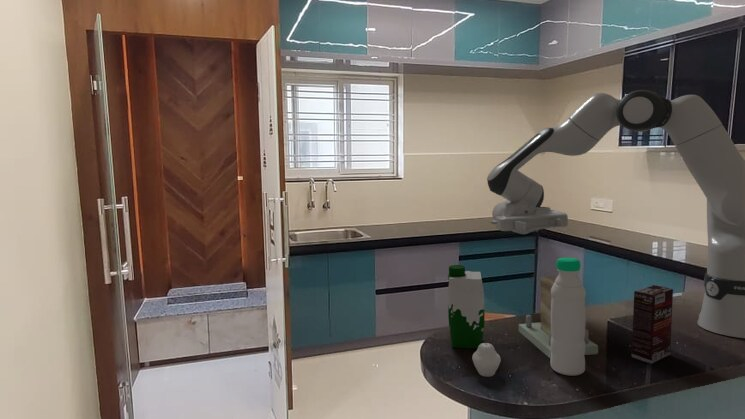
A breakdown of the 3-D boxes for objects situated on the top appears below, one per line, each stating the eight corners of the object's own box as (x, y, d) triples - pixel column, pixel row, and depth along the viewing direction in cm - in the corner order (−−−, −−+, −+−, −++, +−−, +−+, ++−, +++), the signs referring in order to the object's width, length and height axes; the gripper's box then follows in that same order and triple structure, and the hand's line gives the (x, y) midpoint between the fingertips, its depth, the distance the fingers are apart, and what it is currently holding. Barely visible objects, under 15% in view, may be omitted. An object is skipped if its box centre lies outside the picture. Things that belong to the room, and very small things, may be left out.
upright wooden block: (555, 327, 119) (555, 275, 118) (571, 339, 111) (572, 284, 110) (540, 329, 119) (540, 276, 117) (556, 340, 111) (556, 285, 109)
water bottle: (556, 377, 97) (557, 263, 94) (546, 362, 104) (546, 255, 101) (590, 376, 97) (592, 262, 94) (577, 362, 104) (578, 255, 101)
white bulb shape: (467, 375, 100) (466, 344, 99) (479, 364, 104) (479, 335, 104) (493, 383, 96) (493, 351, 95) (505, 371, 100) (505, 341, 100)
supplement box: (652, 365, 101) (654, 295, 99) (630, 357, 105) (632, 290, 103) (672, 355, 105) (674, 288, 104) (650, 348, 110) (652, 284, 108)
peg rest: (560, 327, 124) (560, 310, 124) (597, 353, 108) (598, 333, 107) (518, 331, 123) (518, 313, 123) (549, 358, 106) (549, 337, 106)
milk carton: (449, 335, 122) (448, 262, 120) (484, 336, 120) (483, 263, 118) (448, 348, 114) (446, 271, 111) (485, 350, 112) (484, 271, 110)
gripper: (488, 211, 137) (507, 216, 123) (552, 206, 139) (578, 211, 125) (489, 231, 137) (507, 239, 124) (553, 226, 139) (578, 233, 126)
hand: (543, 224), depth 124 cm, fingers open, 8 cm apart
